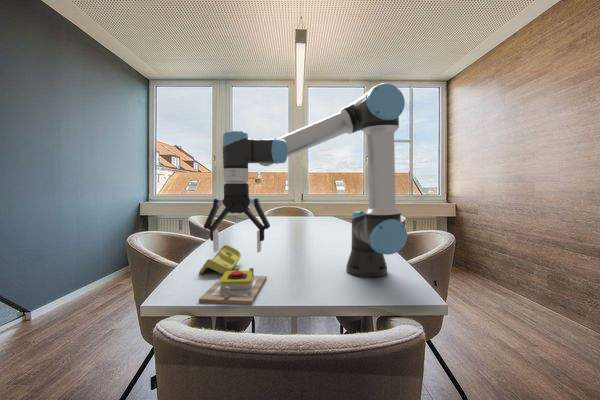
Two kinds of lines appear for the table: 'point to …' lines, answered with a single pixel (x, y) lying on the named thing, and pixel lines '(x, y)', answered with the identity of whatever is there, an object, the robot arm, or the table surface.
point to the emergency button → (237, 282)
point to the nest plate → (227, 298)
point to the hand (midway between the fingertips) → (237, 251)
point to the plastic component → (223, 260)
